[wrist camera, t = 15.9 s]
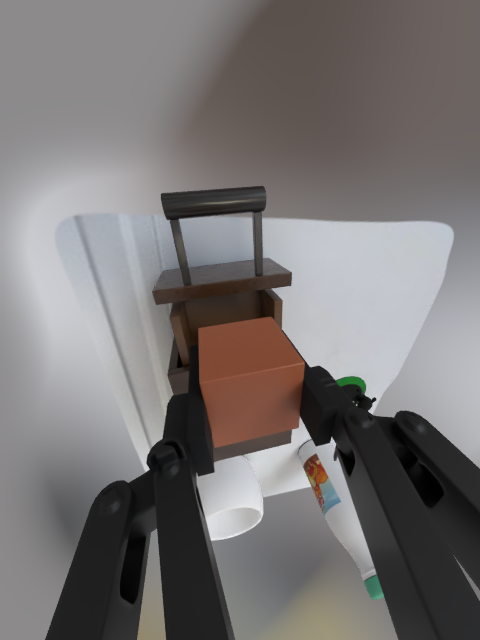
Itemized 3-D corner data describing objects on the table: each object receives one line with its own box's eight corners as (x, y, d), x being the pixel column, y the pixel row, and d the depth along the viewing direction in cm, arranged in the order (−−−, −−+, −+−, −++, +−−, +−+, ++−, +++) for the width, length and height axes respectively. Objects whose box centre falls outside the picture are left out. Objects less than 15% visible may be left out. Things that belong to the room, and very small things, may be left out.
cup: (261, 441, 40) (278, 501, 32) (240, 476, 45) (250, 537, 37) (199, 438, 36) (201, 507, 28) (183, 478, 41) (180, 546, 33)
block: (198, 327, 13) (199, 383, 9) (271, 315, 14) (305, 362, 10) (209, 383, 16) (214, 448, 11) (271, 370, 16) (299, 428, 12)
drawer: (144, 200, 18) (122, 195, 13) (268, 190, 20) (297, 182, 14) (190, 374, 28) (188, 414, 23) (269, 359, 30) (286, 393, 24)
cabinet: (174, 330, 26) (167, 375, 18) (271, 314, 27) (298, 350, 20) (197, 412, 33) (197, 466, 26) (271, 396, 35) (291, 443, 28)
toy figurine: (361, 407, 41) (384, 434, 36) (315, 420, 40) (332, 449, 35) (370, 370, 37) (398, 396, 31) (318, 384, 35) (338, 412, 30)
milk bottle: (320, 431, 43) (406, 582, 25) (335, 444, 46) (419, 583, 29) (291, 450, 44) (353, 606, 27) (307, 461, 48) (372, 605, 30)
